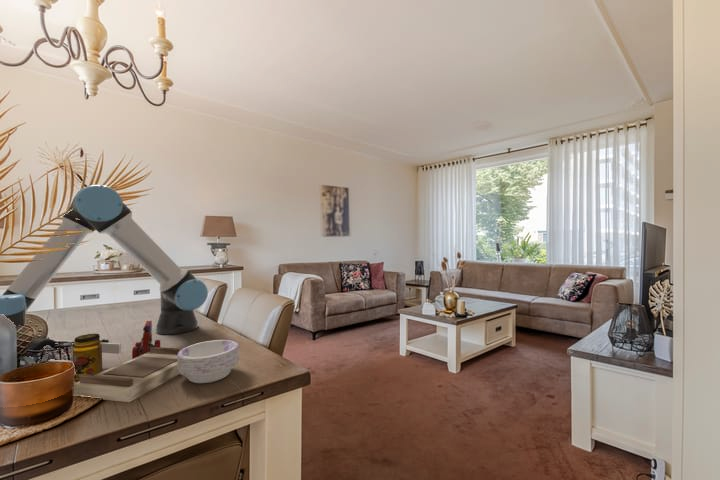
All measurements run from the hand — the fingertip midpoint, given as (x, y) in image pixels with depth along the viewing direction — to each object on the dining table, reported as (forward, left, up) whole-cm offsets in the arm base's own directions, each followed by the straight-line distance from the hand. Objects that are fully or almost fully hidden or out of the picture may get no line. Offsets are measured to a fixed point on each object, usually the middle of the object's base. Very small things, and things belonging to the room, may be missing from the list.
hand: (97, 357), depth 90 cm
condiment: (0, -3, -7) cm, 7 cm away
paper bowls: (-7, +28, -6) cm, 30 cm away
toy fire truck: (-18, -2, -7) cm, 19 cm away
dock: (-3, +11, -6) cm, 13 cm away
